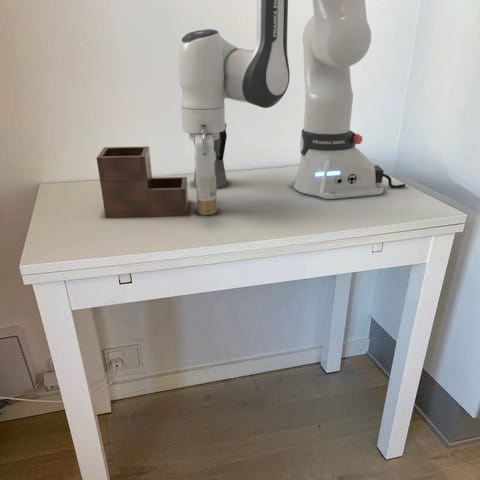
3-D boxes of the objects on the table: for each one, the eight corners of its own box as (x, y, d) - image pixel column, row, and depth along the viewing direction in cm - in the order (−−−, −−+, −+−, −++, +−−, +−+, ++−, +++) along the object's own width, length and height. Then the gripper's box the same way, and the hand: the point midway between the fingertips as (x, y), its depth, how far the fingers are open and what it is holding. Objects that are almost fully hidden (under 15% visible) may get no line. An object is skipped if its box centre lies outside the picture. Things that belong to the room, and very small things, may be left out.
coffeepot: (184, 180, 134) (179, 108, 124) (215, 175, 138) (212, 105, 128) (209, 195, 122) (206, 118, 113) (242, 189, 126) (242, 114, 117)
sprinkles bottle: (209, 207, 115) (207, 147, 108) (221, 212, 112) (219, 151, 105) (193, 211, 112) (189, 151, 105) (204, 217, 109) (202, 155, 102)
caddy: (188, 201, 118) (184, 145, 112) (187, 215, 110) (183, 155, 104) (112, 203, 118) (104, 147, 111) (105, 217, 109) (96, 157, 103)
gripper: (220, 131, 93) (222, 202, 101) (217, 112, 111) (219, 174, 118) (186, 131, 93) (190, 203, 100) (189, 113, 110) (192, 175, 118)
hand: (206, 187), depth 109 cm, fingers closed on sprinkles bottle, 4 cm apart
